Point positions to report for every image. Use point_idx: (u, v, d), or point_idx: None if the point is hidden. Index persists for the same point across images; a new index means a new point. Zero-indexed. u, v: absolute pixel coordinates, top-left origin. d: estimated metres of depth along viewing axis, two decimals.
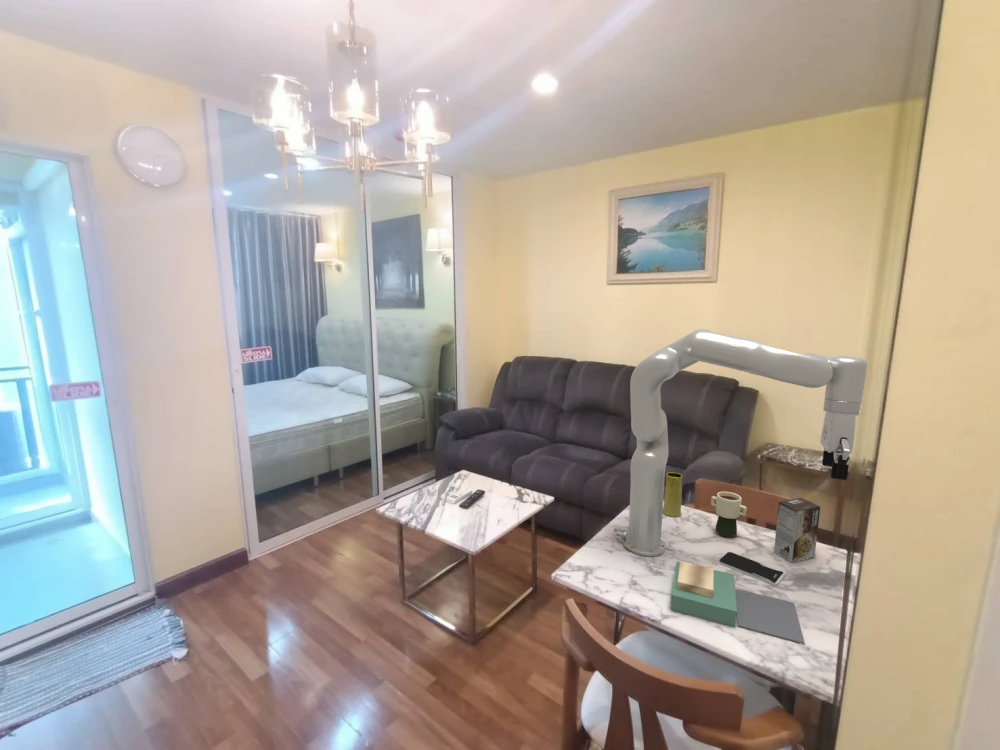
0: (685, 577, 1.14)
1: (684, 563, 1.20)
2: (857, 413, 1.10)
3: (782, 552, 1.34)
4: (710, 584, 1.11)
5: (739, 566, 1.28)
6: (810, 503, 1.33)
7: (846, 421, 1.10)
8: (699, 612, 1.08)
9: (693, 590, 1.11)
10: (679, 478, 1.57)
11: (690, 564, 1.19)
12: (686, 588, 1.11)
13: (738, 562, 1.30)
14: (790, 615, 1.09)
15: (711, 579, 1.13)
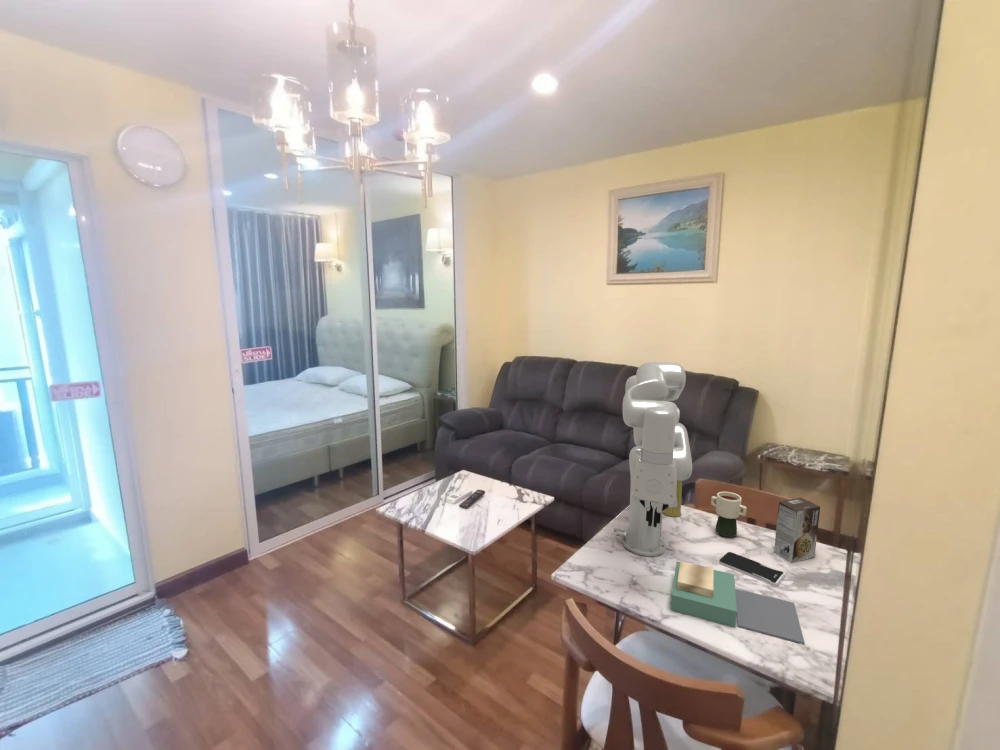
0: (685, 577, 1.14)
1: (684, 563, 1.20)
2: None
3: (782, 552, 1.34)
4: (710, 584, 1.11)
5: (739, 566, 1.28)
6: (810, 503, 1.33)
7: None
8: (699, 612, 1.08)
9: (693, 590, 1.11)
10: None
11: (690, 564, 1.19)
12: (686, 588, 1.11)
13: (738, 562, 1.30)
14: (790, 615, 1.09)
15: (711, 579, 1.13)
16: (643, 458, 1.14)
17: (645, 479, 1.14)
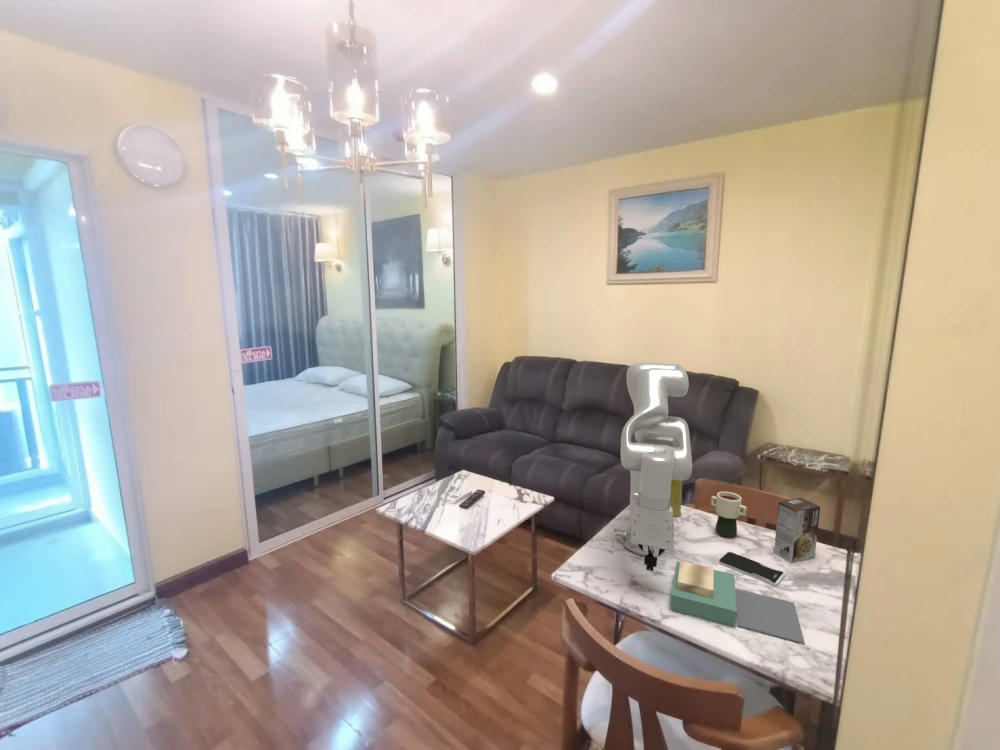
0: (685, 577, 1.14)
1: (684, 563, 1.20)
2: None
3: (782, 552, 1.34)
4: (710, 584, 1.11)
5: (739, 566, 1.28)
6: (810, 503, 1.33)
7: None
8: (699, 612, 1.08)
9: (693, 590, 1.11)
10: None
11: (690, 564, 1.19)
12: (686, 588, 1.11)
13: (738, 562, 1.30)
14: (790, 615, 1.09)
15: (711, 579, 1.13)
16: (640, 503, 1.16)
17: (642, 524, 1.16)
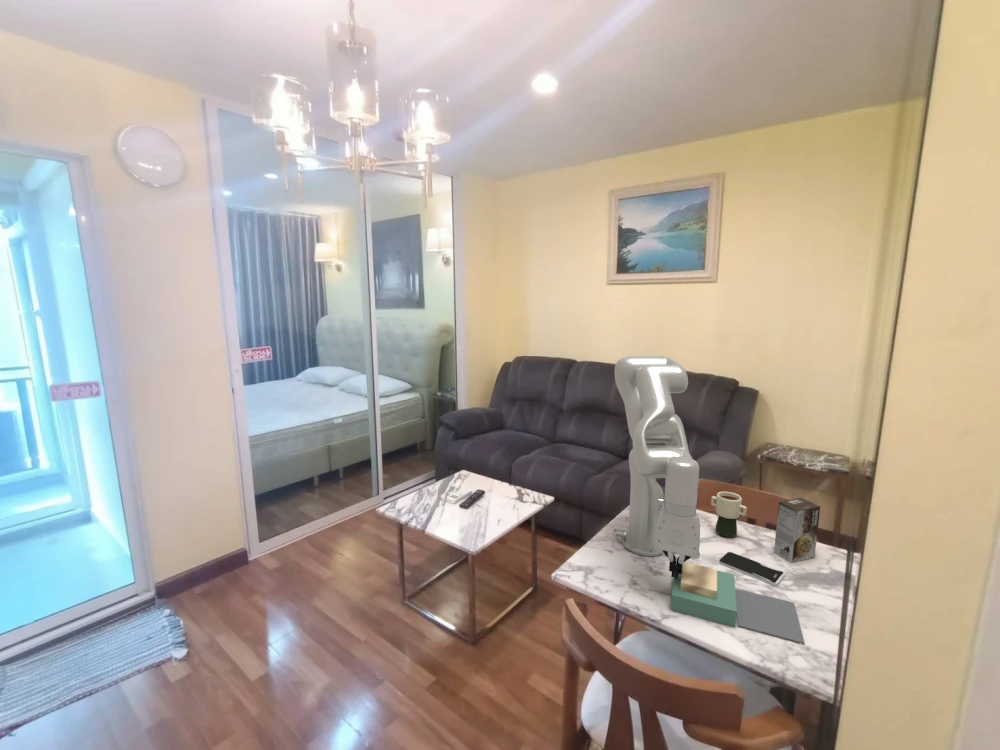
0: (688, 578, 1.13)
1: (687, 564, 1.19)
2: None
3: (782, 552, 1.34)
4: (714, 585, 1.11)
5: (739, 566, 1.28)
6: (810, 503, 1.33)
7: None
8: (699, 612, 1.08)
9: (696, 591, 1.10)
10: None
11: (693, 565, 1.19)
12: (689, 589, 1.11)
13: (738, 562, 1.30)
14: (790, 615, 1.09)
15: (714, 580, 1.13)
16: (666, 509, 1.13)
17: (668, 530, 1.13)
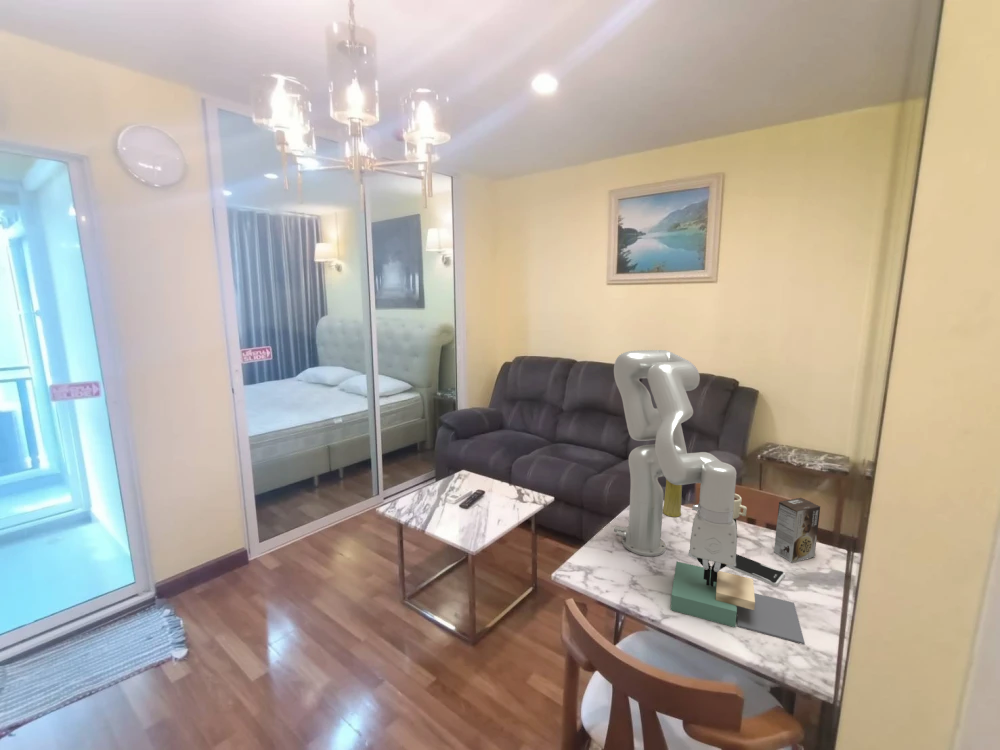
0: (724, 587, 1.10)
1: (721, 573, 1.16)
2: None
3: (782, 552, 1.34)
4: (751, 595, 1.07)
5: (739, 566, 1.28)
6: (810, 503, 1.33)
7: None
8: (699, 612, 1.08)
9: (733, 602, 1.06)
10: None
11: (728, 574, 1.15)
12: (725, 600, 1.07)
13: (738, 562, 1.30)
14: (790, 615, 1.09)
15: (752, 590, 1.09)
16: (701, 515, 1.10)
17: (703, 537, 1.10)
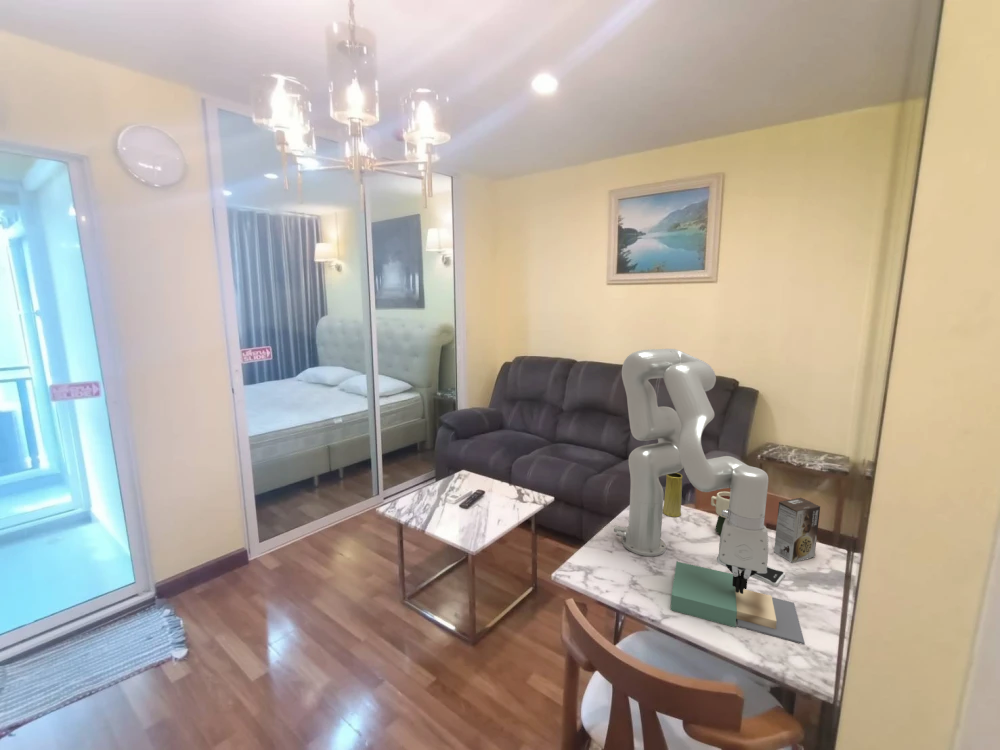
0: (744, 606, 1.09)
1: None
2: None
3: (782, 552, 1.34)
4: (772, 614, 1.06)
5: None
6: (810, 503, 1.33)
7: None
8: (699, 612, 1.08)
9: (754, 621, 1.06)
10: (679, 478, 1.57)
11: (746, 591, 1.14)
12: (746, 618, 1.06)
13: None
14: (790, 615, 1.09)
15: (771, 608, 1.08)
16: (731, 521, 1.07)
17: (733, 544, 1.07)
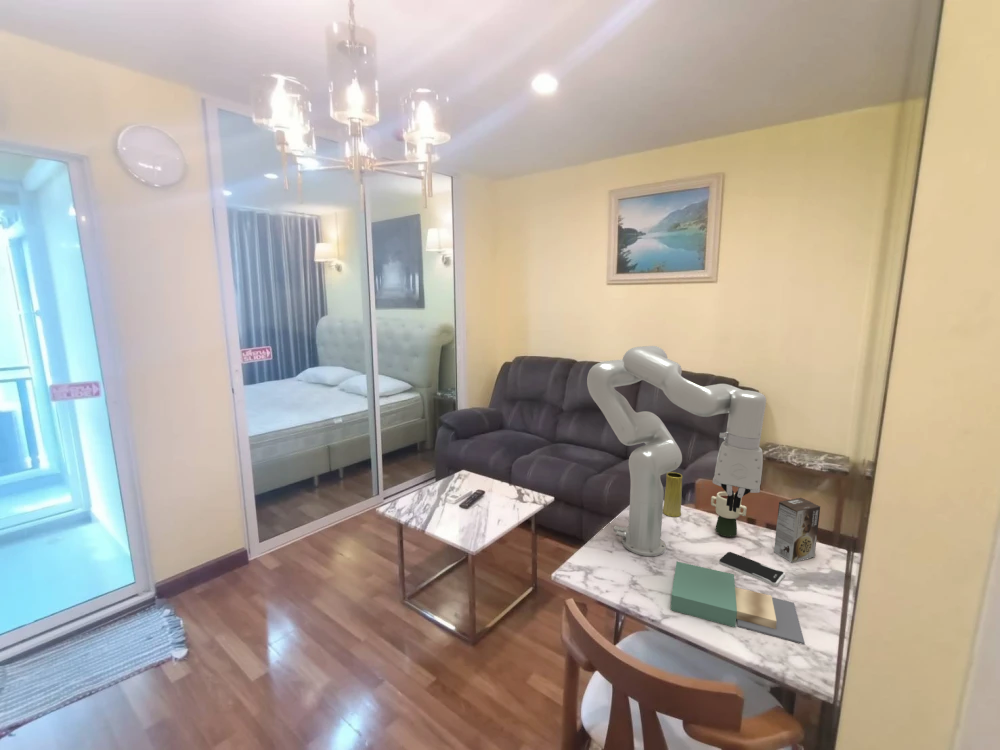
0: (744, 606, 1.09)
1: (739, 590, 1.15)
2: None
3: (782, 552, 1.34)
4: (772, 614, 1.06)
5: (739, 566, 1.28)
6: (810, 503, 1.33)
7: None
8: (699, 612, 1.08)
9: (754, 621, 1.06)
10: (679, 478, 1.57)
11: (746, 591, 1.14)
12: (746, 618, 1.06)
13: (738, 562, 1.30)
14: (790, 615, 1.09)
15: (771, 608, 1.08)
16: (728, 442, 1.12)
17: (729, 463, 1.12)
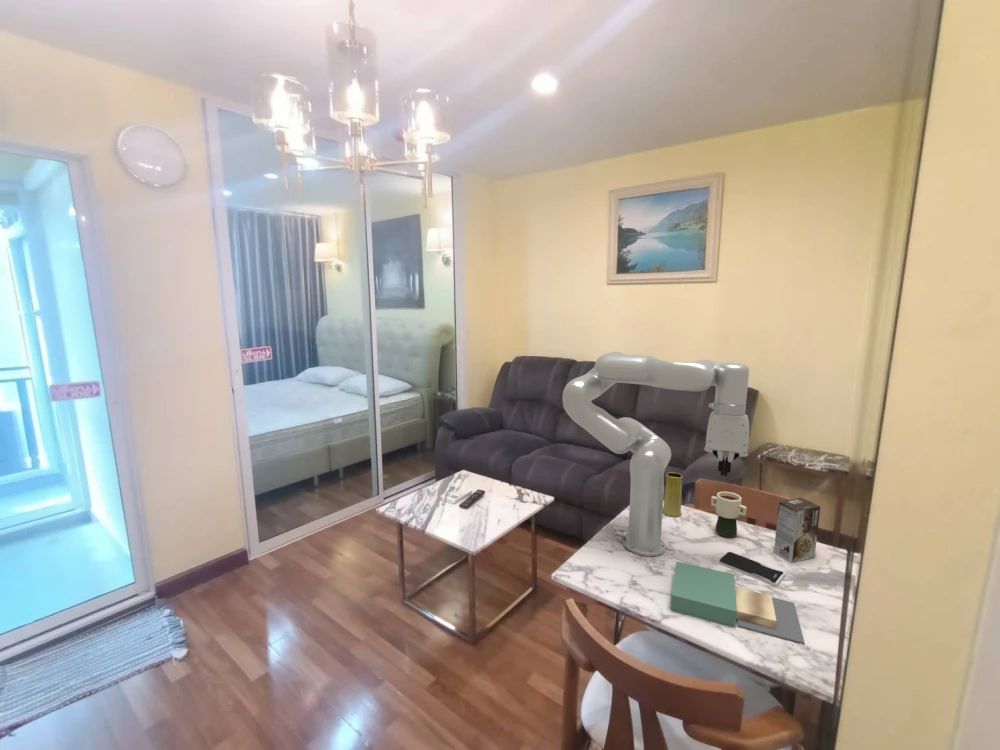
0: (744, 606, 1.09)
1: (739, 590, 1.15)
2: None
3: (782, 552, 1.34)
4: (772, 614, 1.06)
5: (739, 566, 1.28)
6: (810, 503, 1.33)
7: None
8: (699, 612, 1.08)
9: (754, 621, 1.06)
10: (679, 478, 1.57)
11: (746, 591, 1.14)
12: (746, 618, 1.06)
13: (738, 562, 1.30)
14: (790, 615, 1.09)
15: (771, 608, 1.08)
16: (717, 411, 1.22)
17: (719, 430, 1.22)
